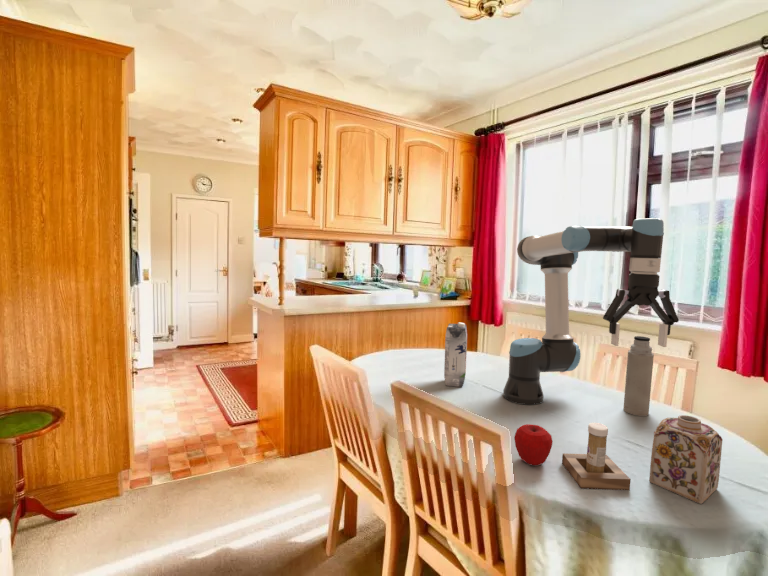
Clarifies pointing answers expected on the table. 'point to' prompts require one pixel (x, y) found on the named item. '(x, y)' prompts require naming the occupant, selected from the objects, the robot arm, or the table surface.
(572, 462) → the socket board
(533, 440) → the apple
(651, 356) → the thermos bottle
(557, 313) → the robot arm
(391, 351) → the table surface
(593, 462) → the sprinkles bottle
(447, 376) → the juice carton
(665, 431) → the decorative jar
